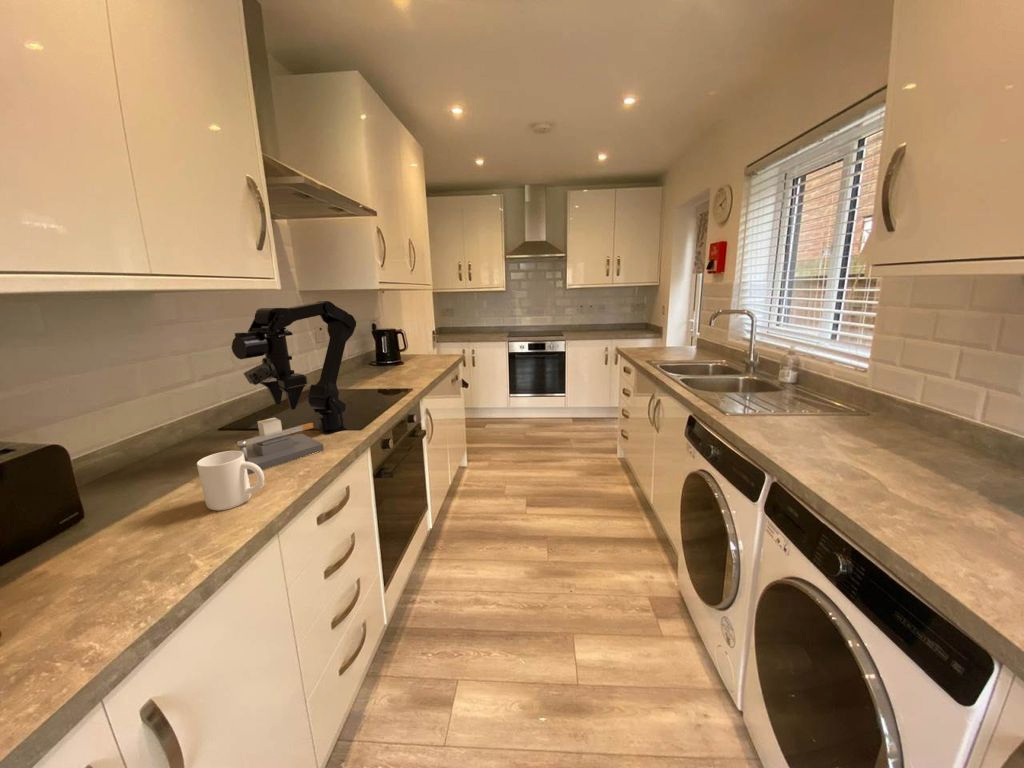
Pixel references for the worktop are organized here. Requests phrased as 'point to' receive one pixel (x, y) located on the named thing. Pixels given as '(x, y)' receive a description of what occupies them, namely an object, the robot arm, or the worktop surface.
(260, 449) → the socket block
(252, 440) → the latch bar
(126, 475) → the worktop surface
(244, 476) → the mug
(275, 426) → the plug
